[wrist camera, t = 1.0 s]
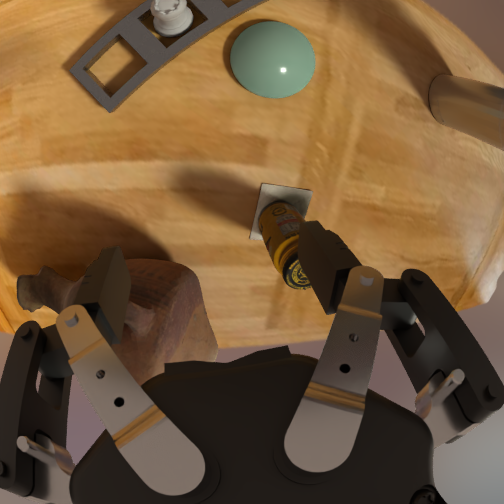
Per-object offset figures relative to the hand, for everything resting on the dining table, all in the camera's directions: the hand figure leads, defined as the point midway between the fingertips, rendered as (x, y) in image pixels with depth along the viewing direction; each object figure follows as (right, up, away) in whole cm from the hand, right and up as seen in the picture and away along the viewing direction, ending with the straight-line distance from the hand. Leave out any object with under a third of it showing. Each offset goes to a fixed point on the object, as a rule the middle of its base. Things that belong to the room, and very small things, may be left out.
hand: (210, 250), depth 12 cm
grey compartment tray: (-7, +25, +9) cm, 28 cm away
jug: (-19, -4, +27) cm, 33 cm away
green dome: (+4, +22, +14) cm, 27 cm away
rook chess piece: (-7, +26, +9) cm, 28 cm away
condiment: (+6, +5, +26) cm, 28 cm away
